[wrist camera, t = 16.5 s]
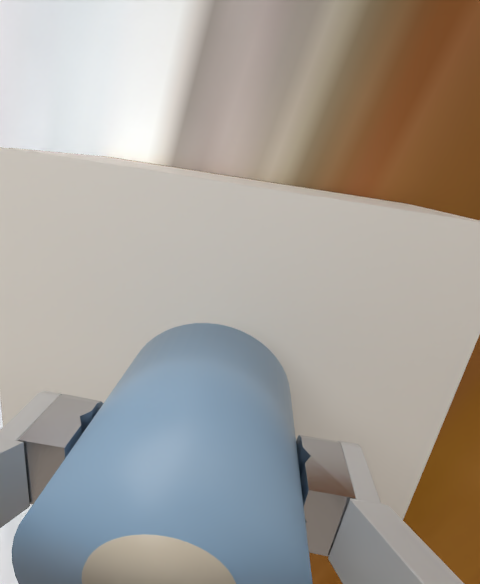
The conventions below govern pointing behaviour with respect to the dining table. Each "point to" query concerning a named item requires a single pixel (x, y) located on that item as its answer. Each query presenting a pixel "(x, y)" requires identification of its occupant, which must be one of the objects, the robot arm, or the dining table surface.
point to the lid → (240, 296)
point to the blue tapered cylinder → (178, 475)
